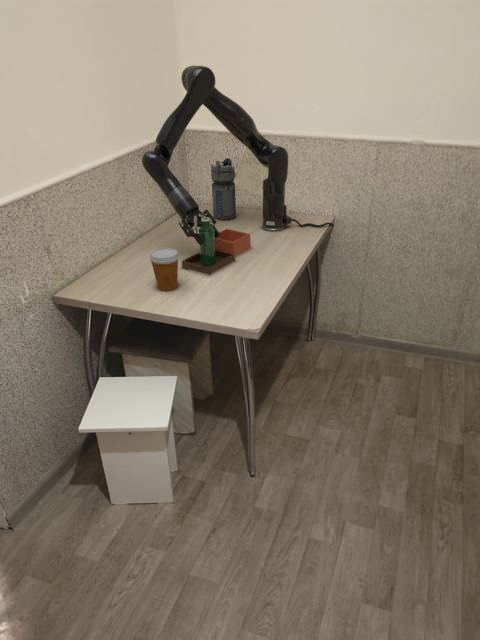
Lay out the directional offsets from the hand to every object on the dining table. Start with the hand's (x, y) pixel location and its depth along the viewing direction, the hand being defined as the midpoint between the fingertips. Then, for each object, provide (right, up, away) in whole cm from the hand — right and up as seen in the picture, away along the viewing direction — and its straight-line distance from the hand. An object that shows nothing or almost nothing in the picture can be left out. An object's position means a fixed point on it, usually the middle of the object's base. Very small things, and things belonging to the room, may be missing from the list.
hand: (210, 240), depth 178 cm
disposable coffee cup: (-13, -18, -10) cm, 24 cm away
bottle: (-1, -7, +5) cm, 9 cm away
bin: (+6, 0, +18) cm, 19 cm away
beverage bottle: (+1, +22, +52) cm, 56 cm away
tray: (-1, -8, +6) cm, 10 cm away
